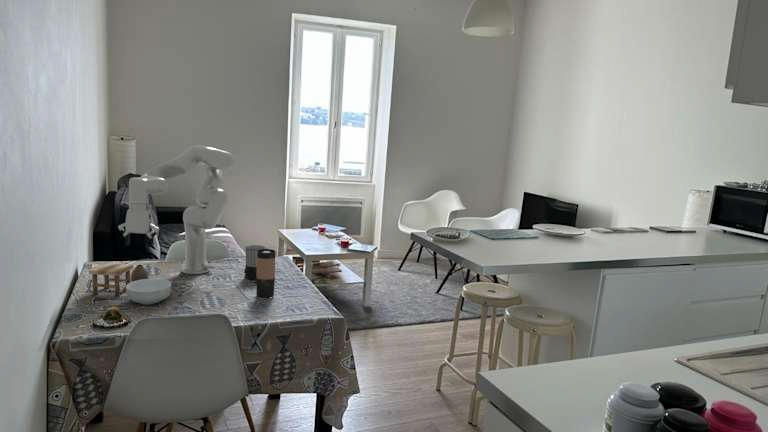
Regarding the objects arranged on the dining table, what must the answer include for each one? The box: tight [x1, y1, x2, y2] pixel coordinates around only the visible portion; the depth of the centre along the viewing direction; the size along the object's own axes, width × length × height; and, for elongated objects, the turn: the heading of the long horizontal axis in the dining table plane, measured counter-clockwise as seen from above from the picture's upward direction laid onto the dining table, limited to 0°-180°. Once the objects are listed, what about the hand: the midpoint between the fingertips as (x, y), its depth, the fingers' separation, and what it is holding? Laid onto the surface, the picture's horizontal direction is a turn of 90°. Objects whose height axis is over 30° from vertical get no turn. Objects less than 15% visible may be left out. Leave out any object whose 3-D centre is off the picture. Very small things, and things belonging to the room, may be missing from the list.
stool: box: [88, 262, 134, 298], centre depth 222 cm, size 12×12×10 cm
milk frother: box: [243, 244, 268, 280], centre depth 259 cm, size 14×16×15 cm
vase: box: [130, 264, 149, 282], centre depth 234 cm, size 7×7×9 cm
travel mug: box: [255, 248, 276, 299], centre depth 228 cm, size 8×8×20 cm
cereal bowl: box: [125, 278, 172, 305], centre depth 214 cm, size 17×17×7 cm
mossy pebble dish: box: [92, 306, 131, 328], centre depth 190 cm, size 12×12×8 cm
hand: (138, 245), depth 232 cm, fingers open, 9 cm apart
